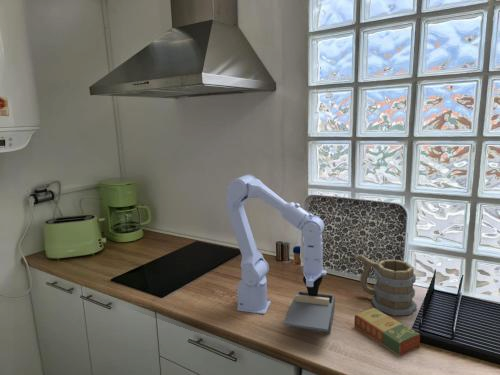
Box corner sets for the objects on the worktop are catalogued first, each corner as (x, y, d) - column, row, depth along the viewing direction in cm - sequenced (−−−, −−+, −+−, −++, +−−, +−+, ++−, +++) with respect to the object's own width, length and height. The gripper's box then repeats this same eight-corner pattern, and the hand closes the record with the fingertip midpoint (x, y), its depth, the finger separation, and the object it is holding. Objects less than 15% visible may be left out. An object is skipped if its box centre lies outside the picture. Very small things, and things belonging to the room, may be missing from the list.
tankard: (420, 304, 117) (423, 261, 114) (405, 320, 108) (407, 274, 105) (363, 286, 130) (365, 247, 128) (346, 299, 122) (346, 257, 119)
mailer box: (289, 327, 106) (289, 312, 105) (297, 304, 119) (297, 290, 118) (330, 333, 102) (330, 317, 101) (334, 309, 115) (334, 295, 114)
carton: (373, 319, 110) (374, 306, 109) (420, 347, 96) (421, 332, 95) (353, 327, 106) (354, 314, 105) (399, 357, 92) (400, 342, 91)
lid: (283, 324, 98) (283, 316, 98) (293, 300, 111) (293, 293, 111) (327, 331, 94) (327, 323, 94) (332, 305, 107) (332, 298, 107)
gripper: (323, 267, 99) (323, 312, 102) (328, 249, 113) (328, 289, 115) (298, 265, 102) (299, 308, 104) (306, 247, 115) (306, 286, 118)
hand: (313, 298), depth 110 cm, fingers closed
